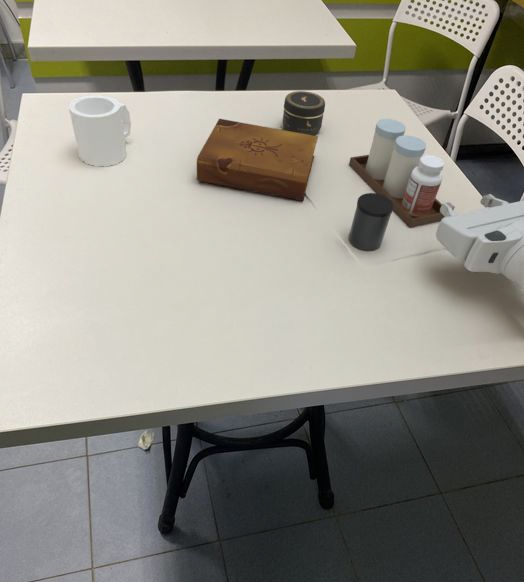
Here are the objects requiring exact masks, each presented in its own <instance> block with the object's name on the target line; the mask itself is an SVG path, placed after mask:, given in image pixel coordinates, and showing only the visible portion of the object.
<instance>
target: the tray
mask: <svg viewBox="0 0 524 582" xmlns="http://www.w3.org/2000/svg"><path fill="white" fill-rule="evenodd" d="M368 157H369V154H363V155H358V156H351V157H350V158H349V162H348V166H349V167H350V168H351V169H352V170H353V171H354V172H355V173H356V174H357V175H358V177H360V179H361V180H362V181H363V182H365V183H366V185H367V186H368V187H369V188H370V189H371V190H372V191H373V193H376V194H380V195H383V196H385V197H387V198H389V199H390V200H391V201H392V202H393V205H394V208H393V211H392V212H393V213H394V214H395V215H396V216H397V217H398V218H399V219H400V220H401V221H402V223H404V224H405V225H406V227H408V229H412V228H416V227H421V226H425V225H430V224H431V225H432V224H435V223H440V221H441V220H442V218H445V216H444V215H443V214H442V213H441V212H440V208H441V206H442V204H443V203H441V201H439V200H438V199H437V198H435V200H434V203H433V205H432V208H431V211H430V213H429V214H428V215H427V216H422V217H413V216H410V215H409V214H408V213H407V212H406V211H405V210H404V209H403V208H402V207H401V204H402V200H403V198H394V197H391V196H390V195H389V194H388V193H387V191H386V190H385V189H384V188H383V184H384V180H376V179H374V178H373V177H372V176H371V175H370V174H369V173H368V172H367V171H366V170H365V169H366V165H367V161H368Z"/></svg>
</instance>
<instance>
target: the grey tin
mask: <svg viewBox="0 0 524 582" xmlns="http://www.w3.org/2000/svg"><path fill="white" fill-rule="evenodd" d="M393 208H394V205H393V202H392V201H391V200H390V199H389V198H387V197H385V196H383V195H380V194H376V193H375V192H368V193H367V192H366V193H364V194H361V195H360V196H358V198H357V202H356V207H355V211H354V215H353V219H352V223H351V227H350V230H349V234H348V242H349V244H350V245H351V246H352V247H353V248H355V249H357V250H359V251H362V252H374V251H377V250H379V249H380V248H381V246H382V244H383V243H382V242H383V240H384V237H385V233H386V231H387V227H388V224H389V223H390V222H389V221H390V219H391V215H392V213H393V212H394V211H393Z"/></svg>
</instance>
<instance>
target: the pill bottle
mask: <svg viewBox="0 0 524 582" xmlns="http://www.w3.org/2000/svg"><path fill="white" fill-rule="evenodd" d="M444 166H445V161H444V160H443V159H442V158H440V157H438V156H436V155H431V154H425V155H423V156H422V157H421V158H420V161H419V164H418V166H417V167H415V168H414V169H413V171H412V173H411V176H410V179H409V182H408V185H407V188H406V191H405V194H404V197H403V200H402V204H401V207H402V208H403V209H404V210H405V211H406V212H407V213H408V214H409V215H410V216H413V217H422V216H427V215H428V214H429V213H430V211H431V208H432V205H433V203H434V200H435V198H436V197H437V194H438V192H439V189H440V187H441V184H442V182H443V174H442V171H443V169H444ZM436 199H437V198H436Z"/></svg>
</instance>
